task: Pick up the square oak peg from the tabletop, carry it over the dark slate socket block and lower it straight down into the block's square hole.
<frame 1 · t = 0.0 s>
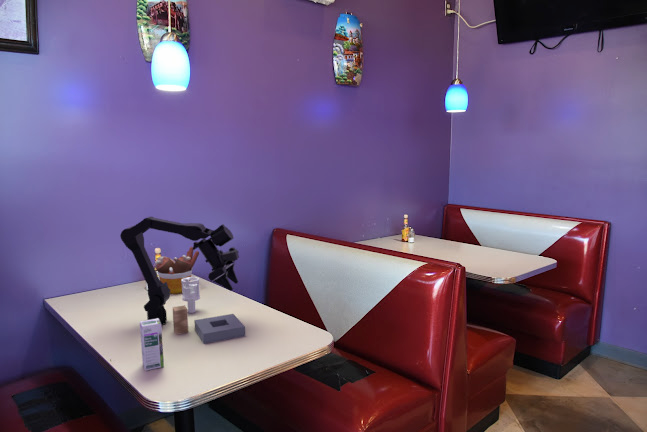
hand: (234, 286, 184), 15 cm above the table, tool tilted 35°, fingers open, 9 cm apart
socket block: (219, 332, 177), on the table
windowed cylinder housing: (191, 311, 200), on the table
bucket of meat: (177, 290, 229), on the table
oak peg: (180, 331, 179), on the table
syrup box: (153, 366, 151), on the table
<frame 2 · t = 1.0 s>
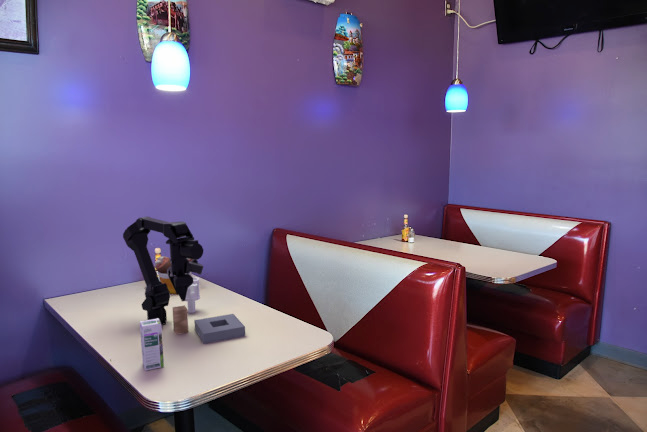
hand: (181, 297, 177), 13 cm above the table, tool pointing down, fingers open, 9 cm apart
nothing on the table moved.
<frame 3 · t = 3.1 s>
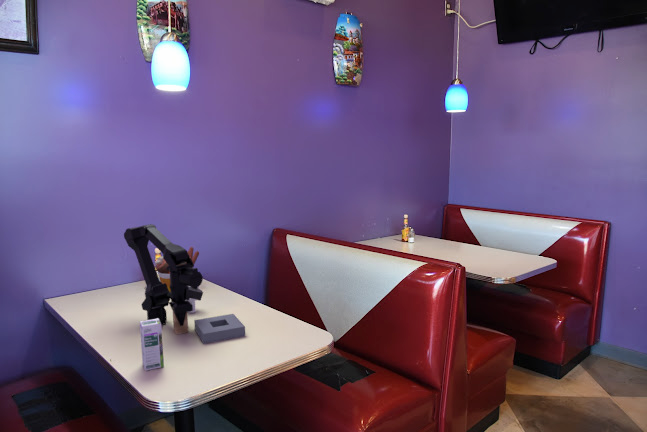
hand: (180, 323, 178), 3 cm above the table, tool pointing down, fingers closed on oak peg, 4 cm apart
oak peg: (180, 331, 179), on the table, touching gripper
everything else where it was.
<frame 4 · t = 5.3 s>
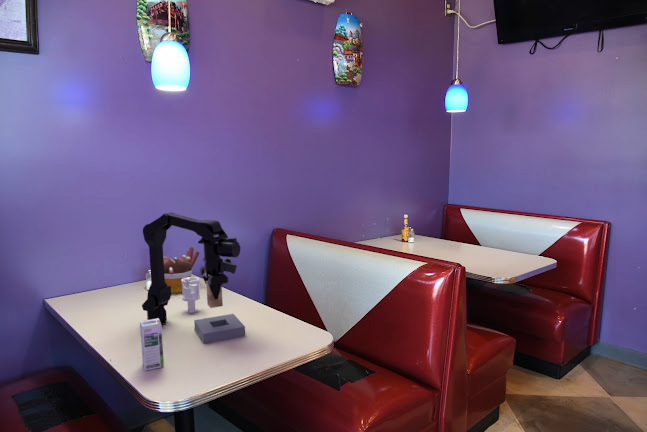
hand: (214, 297, 175), 14 cm above the table, tool pointing down, fingers closed on oak peg, 4 cm apart
oak peg: (215, 305, 176), point 11 cm above the table, touching gripper
everything else where it was.
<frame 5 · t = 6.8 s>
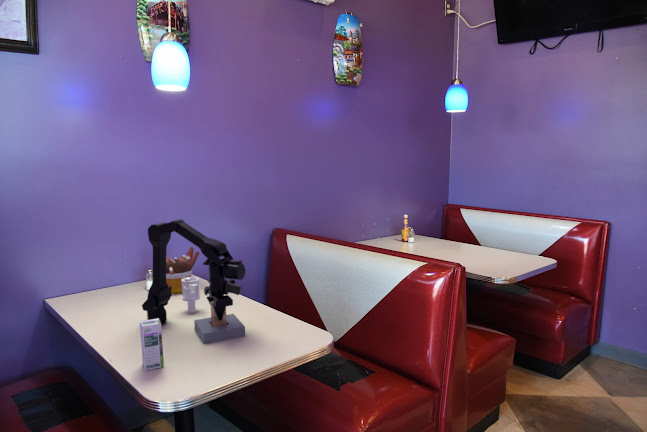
hand: (218, 318, 177), 6 cm above the table, tool pointing down, fingers closed on oak peg, 4 cm apart
oak peg: (219, 325, 177), point 3 cm above the table, touching gripper
everything else where it was.
when the fingers open (5 cm above the table, at t = 7.7 s): oak peg stays where it is, resting on socket block.
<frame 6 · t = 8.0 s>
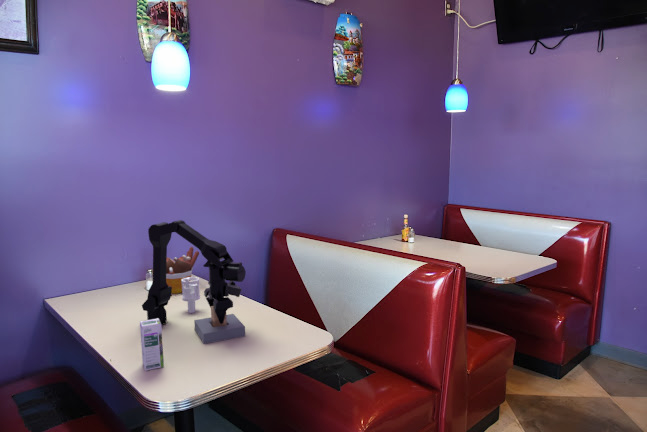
hand: (218, 320, 177), 5 cm above the table, tool pointing down, fingers open, 7 cm apart
oak peg: (219, 330, 177), point 1 cm above the table, touching socket block
everything else where it was.
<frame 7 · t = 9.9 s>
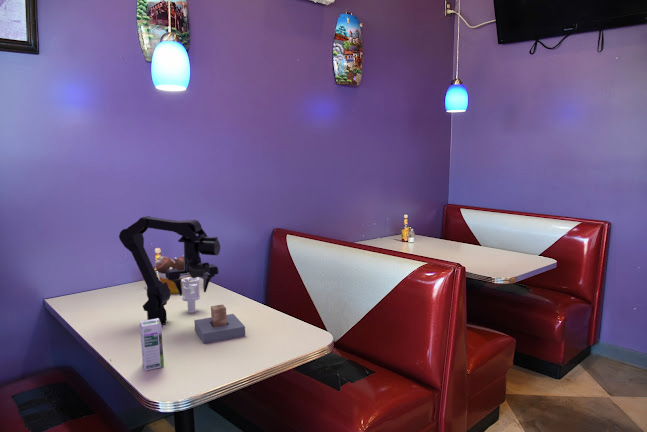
hand: (192, 293, 183), 13 cm above the table, tool pointing down, fingers open, 9 cm apart
nothing on the table moved.
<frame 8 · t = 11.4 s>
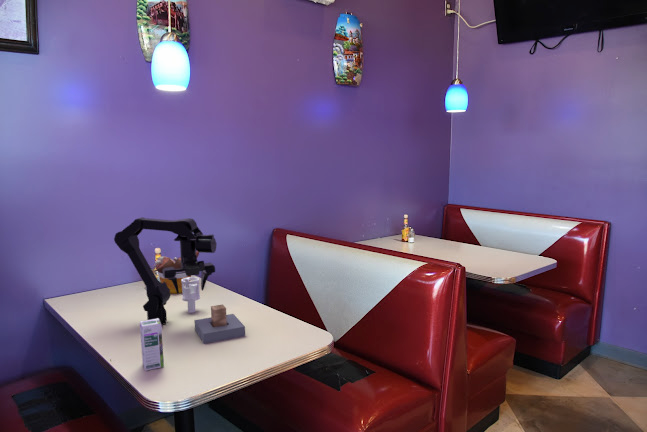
hand: (190, 292, 184), 13 cm above the table, tool pointing down, fingers open, 9 cm apart
nothing on the table moved.
at the end: oak peg 0.0 cm off-centre on the socket block, point 0.8 cm above the socket block's base; oak peg tilted 0°; the gripper is holding nothing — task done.
